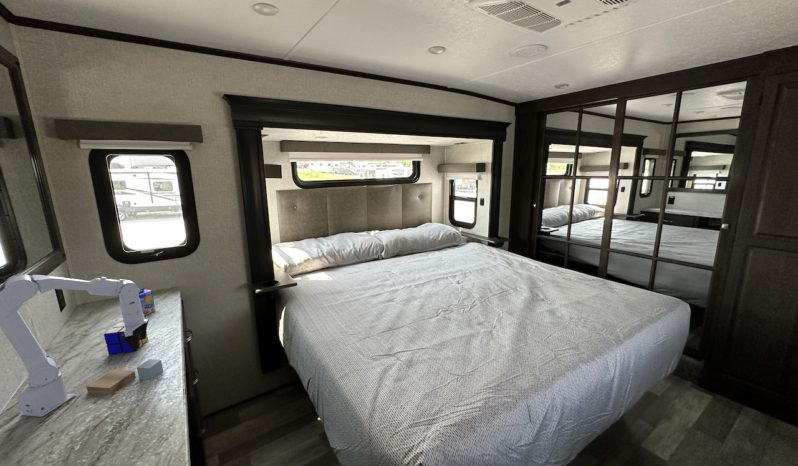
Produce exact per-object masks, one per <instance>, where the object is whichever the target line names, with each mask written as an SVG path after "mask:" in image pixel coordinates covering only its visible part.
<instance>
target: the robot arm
mask: <svg viewBox="0 0 798 466" xmlns="http://www.w3.org/2000/svg"><path fill="white" fill-rule="evenodd" d="M140 289H141V288H140V286H138V284H136V283H135V282H134V281H133V280H130V279H129V280H128V279H126V278H125V279H122V278H120V279H111V278H107V277H106V276H101V277H100V278H99V277H95V278H93V279H91V280H84V279H77V278H68V277H61V276H60V277H59V276H53V275H43V274H32V275H30V274H27V273H26V274H25V273H23V274H22V273H20V274H14V275H12V276H10V277H8V278H7V279H6V280H5V281H4V282H3V283H2V284H1V285H0V329H1V331H2V332H3V334H4V335H5V337H6V338H7V339H8V341H9V342H10V344H11V345H12V347H13V349H14V350H15V352H16V353H17V354H18V356H19V357H20V359H21V361H22V362H23V364H24V366H25V369H26V373H27V374H28V377H27V379H28V383H27V387H26V388H25V389H24V390H23V391H21V392H20V393H19V394H18V395H17V400H18V403H19V407H20V409H21V410H20V411H21V413H20V415H21V416H28V417H40V418H41V417H44V416H46V415H47V414H49V413H51V412H52V411H54V410H55V409H57V408H58V407H60V406H61V405H63V404H64V403H66V402H67V401H69V400H71V399H72V398H74V397H76V396H77V395H76V394H75V393H69V392H67V391H68V390H67V388H66V384H65V381H64V380H65V379H64V376H63V373H62V372H61V371H60V370H59V368H58V366H57V361H56V358H55V357H53V356H51V355H48V354H47V353H46V351H45V350H44V349H43V347H42V346H41V345H40V342H39V341H38V339H37V338H36V336H35V335H34V333H33V332H32V331H31V329H30V327H29V326H28V324H27V322H26V321H25V319H24V318H23V316H22V315H21V313H20V311H19V310H20V309H21V308H22V306H23V305H24V304H25V303H26V302H28V301H29V300H30V299H32V298H34V297H35V296H36V295H37V294H38V292H40V294H44V293H47V292H50V291H52V290H68V291H69V290H71V291H72V290H73V291H87V292H88V293H89V294H90V295H95V296H105V297H107V296H109V297H115V296H117V297H119V298H118V299H119V305H120V310H121V315H122V319H123V322H124V328H125V331H124V333H123V334H122V335H121V338H122V339H123V340H125V341H126V342H127V343H128V345H129V346H130V348H131V349H132V350H136V349H138V350H139V349H140V348H141V347H140V340H142V339H145V338H146V331H147V329H148V324H149V323H150V318H149V319H148V318H147V319H146V318H145V315H144V314H143V312H142V307H141V302H140V298H139V292H140V291H141V290H140Z"/></svg>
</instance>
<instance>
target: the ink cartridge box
mask: <svg viewBox="0 0 798 466" xmlns="http://www.w3.org/2000/svg"><path fill="white" fill-rule="evenodd" d="M139 298H140V302H141V307H142V312H143V314H144V316H147V315H149V314H151V313H154V312H156V304H155V300H154V294H153V291H152V290H151V289H145V287H143V288H140V292H139Z"/></svg>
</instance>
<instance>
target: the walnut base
mask: <svg viewBox="0 0 798 466" xmlns="http://www.w3.org/2000/svg"><path fill="white" fill-rule="evenodd" d="M135 378H136V371H135V370H126V369H123V370H122V369H112V370H109V372H107V373H105V374H103V375H101V376H100V377H99V378H97V379H95V380H94V381H93V382H91V383H89V384H88V385H86V390H87V393H88V394H97V395H110V396H111V395H112V394H114V393H115V392H117V391H118V390H120V389H121V388H123V387H124V386H126V385H127V384H128V383H130V382H132V380H134V379H135Z"/></svg>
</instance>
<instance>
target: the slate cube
mask: <svg viewBox="0 0 798 466" xmlns="http://www.w3.org/2000/svg"><path fill="white" fill-rule="evenodd" d="M136 370H137V375H138V380H142V381H143V380H144V381H152V380H154V379H155V378H156V377H158V376H160V375H161V374H162V373H163V372H164V367H163V363H162V359H153V358H152V359H151V358H149V359H147V360H146V361H144V362H142V363H141V364H140V365H138V366H137V367H136Z"/></svg>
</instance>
